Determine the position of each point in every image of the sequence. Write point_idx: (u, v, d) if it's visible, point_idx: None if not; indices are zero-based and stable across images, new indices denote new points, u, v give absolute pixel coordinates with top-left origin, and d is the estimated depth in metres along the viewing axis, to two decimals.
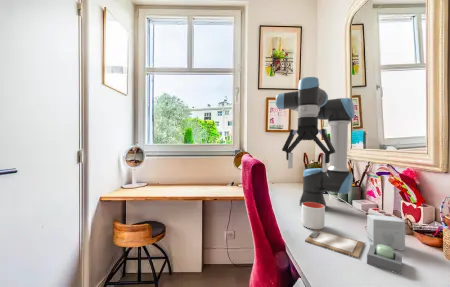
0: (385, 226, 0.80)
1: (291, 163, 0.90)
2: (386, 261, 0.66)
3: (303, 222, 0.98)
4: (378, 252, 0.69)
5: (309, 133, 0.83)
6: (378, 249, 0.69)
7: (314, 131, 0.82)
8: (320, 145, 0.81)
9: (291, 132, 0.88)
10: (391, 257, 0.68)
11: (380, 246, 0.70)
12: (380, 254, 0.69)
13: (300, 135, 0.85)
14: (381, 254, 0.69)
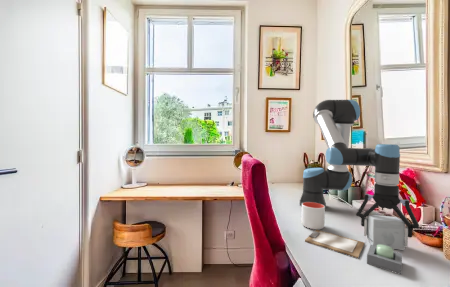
0: (385, 226, 0.80)
1: None
2: (386, 261, 0.66)
3: (303, 222, 0.98)
4: (378, 252, 0.69)
5: (390, 203, 0.80)
6: (378, 249, 0.69)
7: (396, 201, 0.79)
8: (402, 217, 0.78)
9: (366, 198, 0.85)
10: (391, 257, 0.68)
11: (380, 246, 0.70)
12: (380, 254, 0.69)
13: (379, 203, 0.82)
14: (381, 254, 0.69)
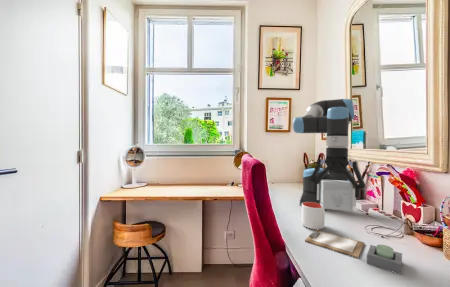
0: (334, 188, 0.80)
1: None
2: (386, 261, 0.66)
3: (303, 222, 0.98)
4: (378, 252, 0.69)
5: (339, 165, 0.80)
6: (378, 249, 0.69)
7: (344, 163, 0.80)
8: (350, 178, 0.79)
9: (319, 162, 0.86)
10: (391, 257, 0.68)
11: (380, 246, 0.70)
12: (380, 254, 0.69)
13: (329, 166, 0.83)
14: (381, 254, 0.69)
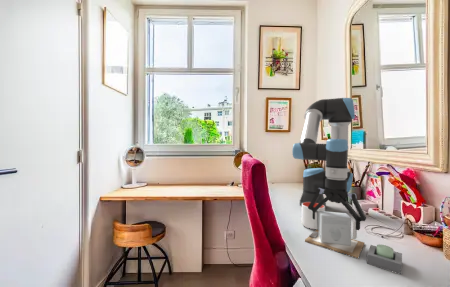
0: (332, 222, 0.81)
1: (317, 222, 0.87)
2: (386, 261, 0.66)
3: (303, 222, 0.98)
4: (378, 252, 0.69)
5: (338, 197, 0.80)
6: (378, 249, 0.69)
7: (343, 195, 0.80)
8: (350, 210, 0.79)
9: (318, 191, 0.86)
10: (391, 257, 0.68)
11: (380, 246, 0.70)
12: (380, 254, 0.69)
13: (328, 197, 0.83)
14: (381, 254, 0.69)
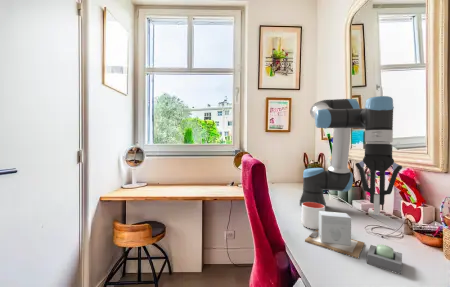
0: (332, 222, 0.81)
1: None
2: (386, 261, 0.66)
3: (303, 222, 0.98)
4: (378, 252, 0.69)
5: (381, 164, 0.69)
6: (378, 249, 0.69)
7: (388, 161, 0.68)
8: (382, 182, 0.69)
9: (359, 166, 0.74)
10: (391, 257, 0.68)
11: (380, 246, 0.70)
12: (380, 254, 0.69)
13: (372, 166, 0.71)
14: (381, 254, 0.69)
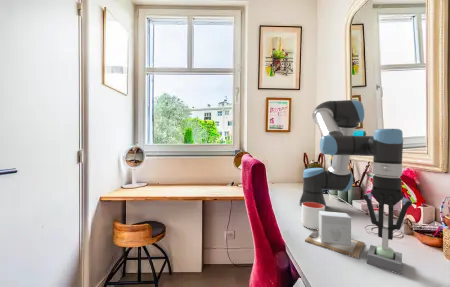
0: (332, 222, 0.81)
1: None
2: (386, 261, 0.66)
3: (303, 222, 0.98)
4: (378, 253, 0.69)
5: (391, 198, 0.67)
6: (378, 250, 0.69)
7: (398, 196, 0.67)
8: (391, 217, 0.68)
9: (366, 198, 0.72)
10: (391, 258, 0.68)
11: (380, 247, 0.70)
12: (380, 255, 0.69)
13: (381, 199, 0.69)
14: (381, 255, 0.69)
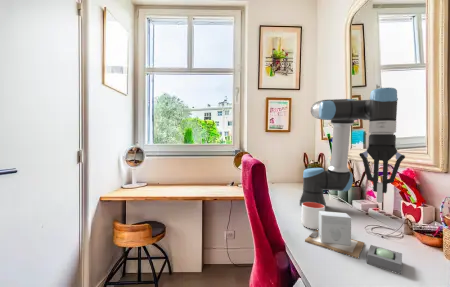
0: (332, 222, 0.81)
1: None
2: (386, 261, 0.66)
3: (303, 222, 0.98)
4: None
5: (385, 153, 0.71)
6: (378, 253, 0.69)
7: (392, 151, 0.71)
8: (385, 171, 0.72)
9: (363, 156, 0.76)
10: None
11: (380, 250, 0.70)
12: None
13: (376, 156, 0.73)
14: None
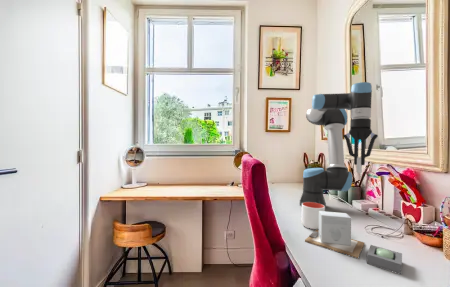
0: (332, 222, 0.81)
1: None
2: (386, 261, 0.66)
3: (303, 222, 0.98)
4: None
5: (362, 134, 0.91)
6: (378, 253, 0.69)
7: (368, 131, 0.90)
8: (363, 148, 0.91)
9: (346, 136, 0.96)
10: None
11: (380, 250, 0.70)
12: None
13: (356, 136, 0.93)
14: None
